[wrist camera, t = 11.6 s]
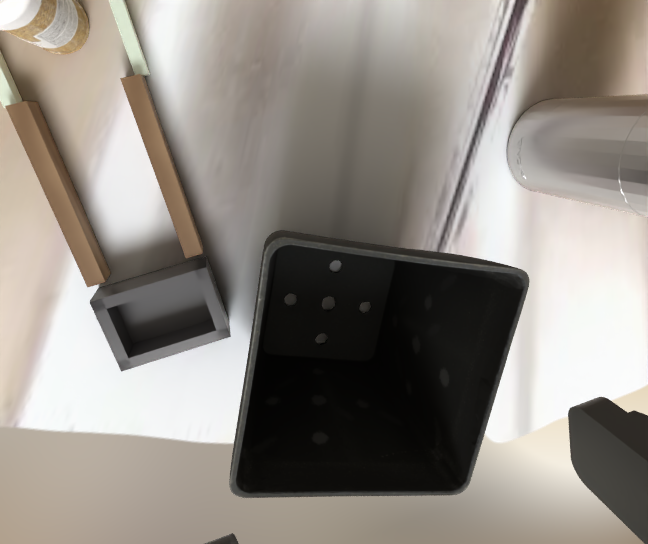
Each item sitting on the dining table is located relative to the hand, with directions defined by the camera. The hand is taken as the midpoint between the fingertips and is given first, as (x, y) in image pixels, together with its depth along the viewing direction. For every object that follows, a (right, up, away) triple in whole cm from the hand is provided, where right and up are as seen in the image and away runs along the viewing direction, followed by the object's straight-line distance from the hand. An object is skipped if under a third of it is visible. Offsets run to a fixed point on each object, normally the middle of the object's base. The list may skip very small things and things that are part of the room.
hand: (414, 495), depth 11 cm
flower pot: (-2, +2, +38) cm, 38 cm away
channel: (-20, +13, +30) cm, 38 cm away
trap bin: (-17, +2, +34) cm, 38 cm away
